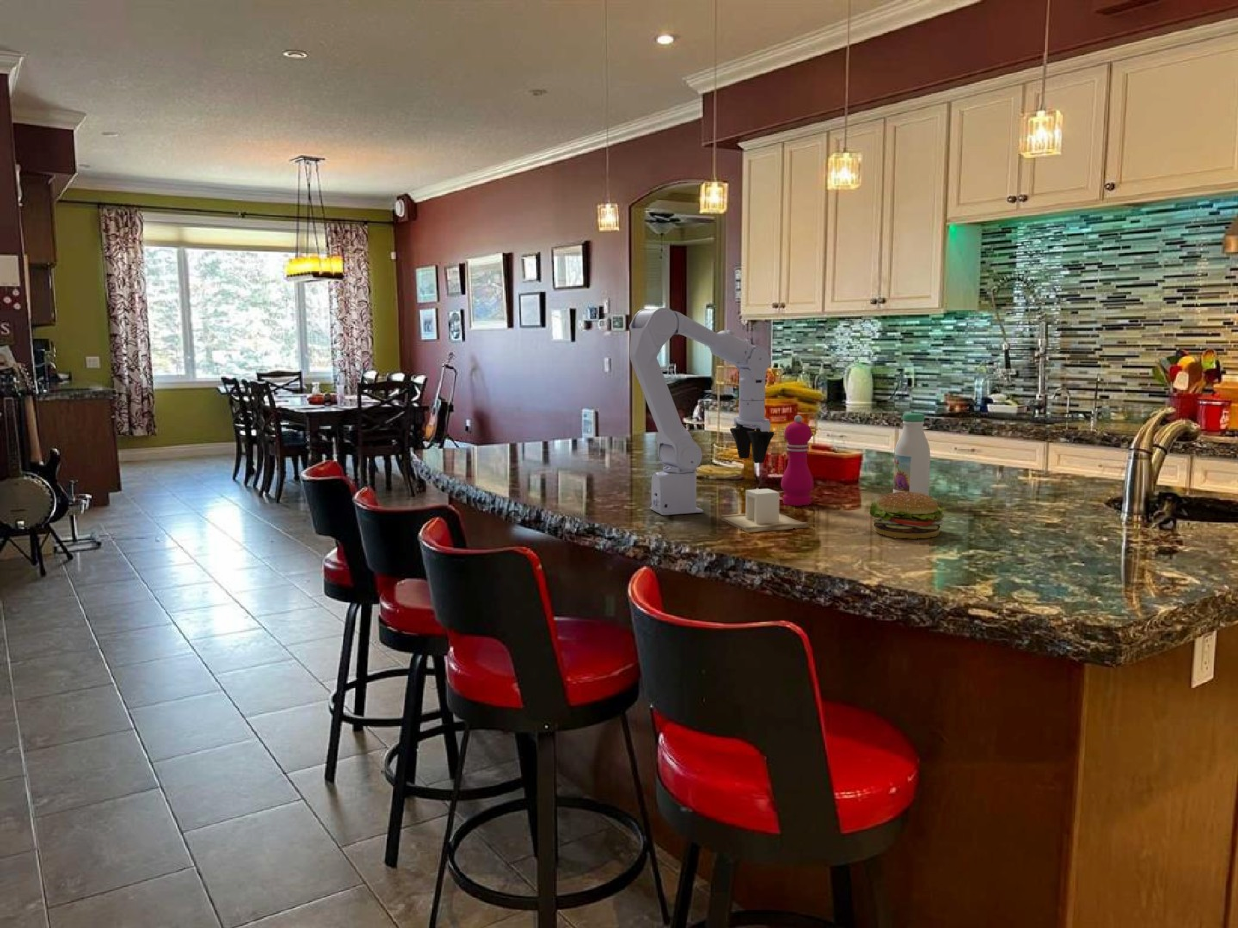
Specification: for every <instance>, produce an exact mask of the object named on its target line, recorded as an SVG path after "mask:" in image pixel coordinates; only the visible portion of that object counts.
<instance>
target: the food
mask: <svg viewBox="0 0 1238 928" xmlns="http://www.w3.org/2000/svg"><path fill="white" fill-rule="evenodd" d="M944 512H945V513H946V512H947V508H945V507H944V506H940V505H939V504H938V502H937V500H935V498H932V497H931V496H930V495H929V496H928V495H925V494H921V493H916V492H895V493H893V492H891V493H888V494H886V495H884V496H882V497H881V498H880V499H879V500H878V502H874V501H873V502H871V503H870V509H869V515H870V516H872V517H874V518H875V519H873V526H874V529H875V532H876V533H878V534H880V535H882V534H883V535H882V536H884V535H886V536H885V537H888V536H890V537H889V538H893V537H896V538H895V539H901V538H908V539H907V540H920V539H919V538H926V539H931V538H930V537H932V538H935V537H937V536H939V533H940V530H941V526H942V524H943V523H944V521H943V518H945V514H943V513H944ZM917 538H918V539H917Z"/></svg>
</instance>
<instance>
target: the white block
mask: <svg viewBox="0 0 1238 928" xmlns="http://www.w3.org/2000/svg"><path fill="white" fill-rule="evenodd" d="M779 513H780V492H778V491H777V490H774V489H771V488H760V489H759V488H758V489H757V488H756V489H745V513H744V514H745V519H746V520H753V519H754V523H755V524H761V523H773V522H779Z"/></svg>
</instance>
